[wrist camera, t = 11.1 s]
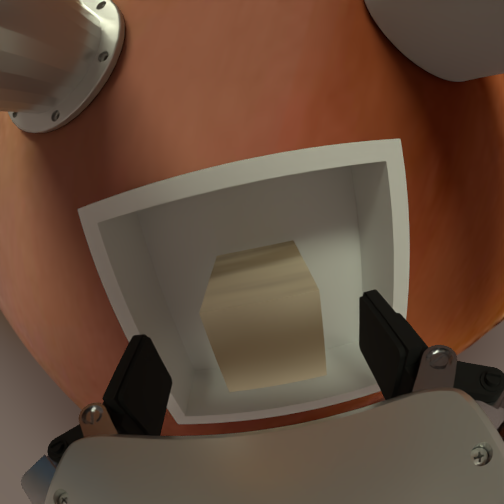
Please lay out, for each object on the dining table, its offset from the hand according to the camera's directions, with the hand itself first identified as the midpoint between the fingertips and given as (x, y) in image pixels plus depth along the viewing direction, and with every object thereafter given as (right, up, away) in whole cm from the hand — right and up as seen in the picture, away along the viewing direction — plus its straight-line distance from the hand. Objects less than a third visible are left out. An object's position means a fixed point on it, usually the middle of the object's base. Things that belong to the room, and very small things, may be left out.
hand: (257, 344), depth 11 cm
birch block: (0, +2, +7) cm, 7 cm away
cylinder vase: (+14, +23, +1) cm, 27 cm away
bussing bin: (0, +2, +8) cm, 8 cm away
